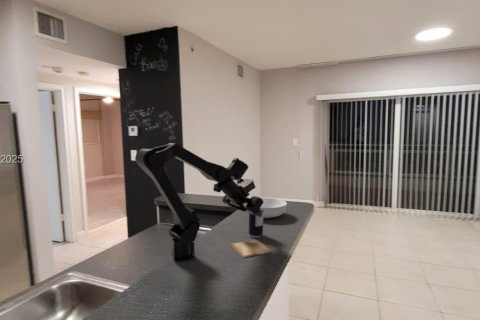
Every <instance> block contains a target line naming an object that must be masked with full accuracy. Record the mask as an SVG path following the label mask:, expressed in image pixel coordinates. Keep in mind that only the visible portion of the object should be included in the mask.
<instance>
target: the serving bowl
mask: <svg viewBox="0 0 480 320" xmlns="http://www.w3.org/2000/svg"><path fill="white" fill-rule="evenodd" d="M260 198H261V199H262V200H263V204H262V205H261V206H262V208H263V219H272V218H276V217H279V216H281V215H283V214H284V213H285V212H286V210H287V207H288V206H287V205H288V203H287V201H285V200H283V199H278V198H272V197H271V198H270V197H260ZM246 205H247V204H244V206H245V207H246Z"/></svg>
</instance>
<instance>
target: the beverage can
mask: <svg viewBox="0 0 480 320" xmlns="http://www.w3.org/2000/svg"><path fill="white" fill-rule="evenodd" d="M260 210H261V213H262V216H261V217H259V216H256V215H253V214H250V213H249V212H248V234H249V236H250V237H252V238H261V236H263V234H264V218H263V208H262V206H261V207H260Z"/></svg>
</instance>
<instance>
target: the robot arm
mask: <svg viewBox="0 0 480 320" xmlns="http://www.w3.org/2000/svg"><path fill="white" fill-rule="evenodd" d="M173 158H175V159H177V160H179V161H181V162H183V164H186V165H188V166H190V167H192V168H193V169H196V170H197V171H198V172H199V173H200V174H201V175H202V176H203V177H205V178H206V179H207V180H210V181H214V182H216V183H214V184H213V188H212V189H213V190H212V191H213V192H217V193H221V192H222V193H223V194H224V196H223V197H222V202H223V204H224V205H226V206H229V207H230V208H233V209H236V210H240V211H242V212H247V213H248V214H249V213H250V214H253V215H256V216H259V217H261V216H262V213H261V210H260V207H261V205H262V204H263V200H262V199H261V198H262V197H260V196H256V195H253V196H251V197H250V198H249V196H250V192H251V191H253V190H254V189H256V185H255V181H254V179H251V178H243V177H244V175H245V174H246V172H247V171H248V170H249V165H248V164H247V163H246V162H244V161H242V160H240V158H239V157H233V159H232V161H231V162H230V163H229V165H228V166H227V167H225V166H223V165H220V164H217V163H213V162H210V161H207V160H205V159H204V158H203V157H200V156H198V155H197V154H195V153H193V152H192V151H189V150H188V149H186V148H185V147H183V146H181V145H180V144H179V143H175V142H169V143H167V144H165V145H162V146H161V145H160V146H156V147H154V148H141V149H139V150H138V151H137V153H136V155H135V157H134V160H135V162H136V164H137V166H139V168H141V170H142V171H144V173H146V175H147V176H149V177H150V178H151V180H152V182H153V183H154V185H155V186H156V188H157V189H158V191H159V193H160V195H161V196H162V198H163V199H164V201H165V203H166V204H167V207H168V208H169V209H170V211H171V212H172V221H173V223H174V224H173V225H172V226H171V228H170V229H169V231H168V234H169V236H170V237H171V250H172V252H171V253H170V255H171V257H172V259H173V261H174V262H178V263H179V262H182V261H183V262H184V261H189V260H193V259H195V241H196V239H197V235H198V233H199V230H200V228H201V222H200V221H201V219H200V218H199V217H198V215H197V212H196V211H195V210H194V209H192V208H190V207H187V206H185V204H184V202H183V201H182V199H181V197H180V195H179V193H178V192H177V190H176V188H175V186H174V185H173V183H172V182H171V180H170V178H169V176H168V174H167V173H166V165H165V163H166V162H169V161H170V160H171V159H173ZM235 181H236V182H235ZM245 204H247V205H246V206H245Z"/></svg>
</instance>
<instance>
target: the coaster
mask: <svg viewBox="0 0 480 320" xmlns="http://www.w3.org/2000/svg"><path fill="white" fill-rule="evenodd" d="M230 247H231V248H233V250H235V251H236V252H237V253H238V254H239V255H240V256H241V257H242V258H247V257H252V256H258V255H264V254H269V253H272V252H273V251H272V249H271V248H269V247H268V246H266V245H265V244H264V243H262V242H261V241H260V240H258V239H252V240H247V241H241V242H235V243H230Z"/></svg>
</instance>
